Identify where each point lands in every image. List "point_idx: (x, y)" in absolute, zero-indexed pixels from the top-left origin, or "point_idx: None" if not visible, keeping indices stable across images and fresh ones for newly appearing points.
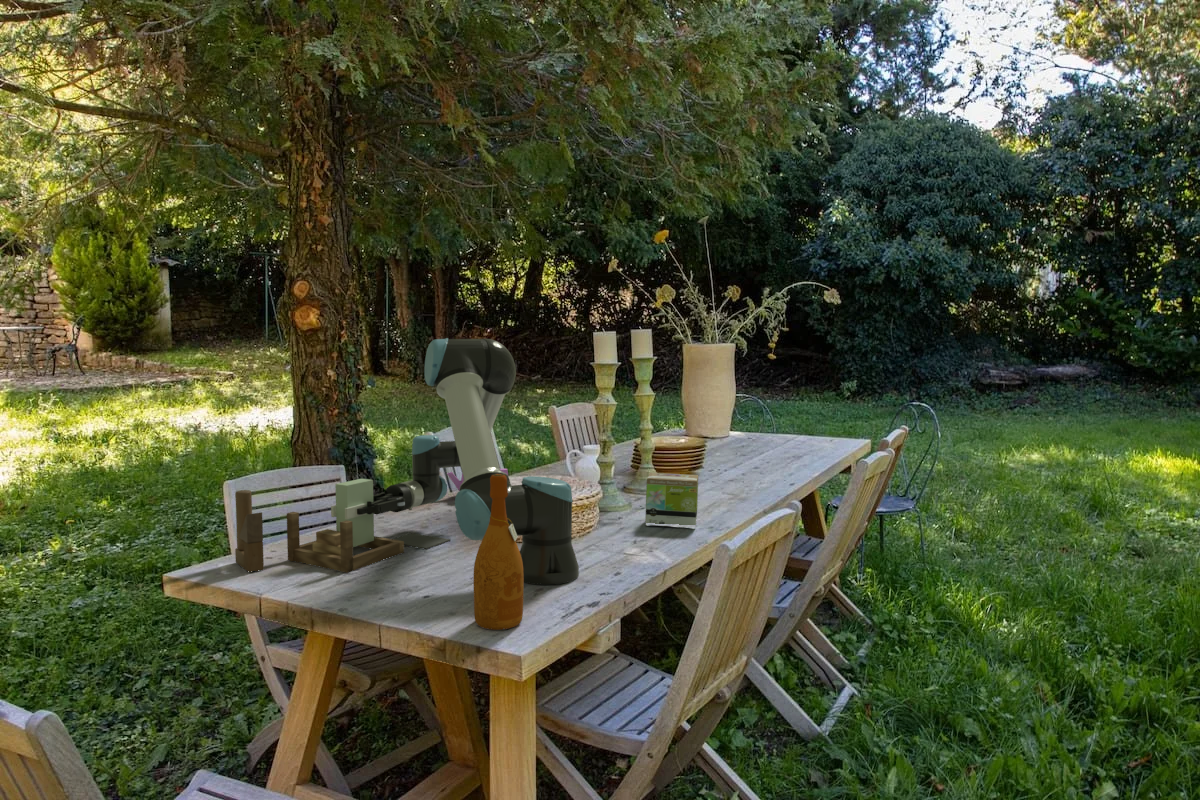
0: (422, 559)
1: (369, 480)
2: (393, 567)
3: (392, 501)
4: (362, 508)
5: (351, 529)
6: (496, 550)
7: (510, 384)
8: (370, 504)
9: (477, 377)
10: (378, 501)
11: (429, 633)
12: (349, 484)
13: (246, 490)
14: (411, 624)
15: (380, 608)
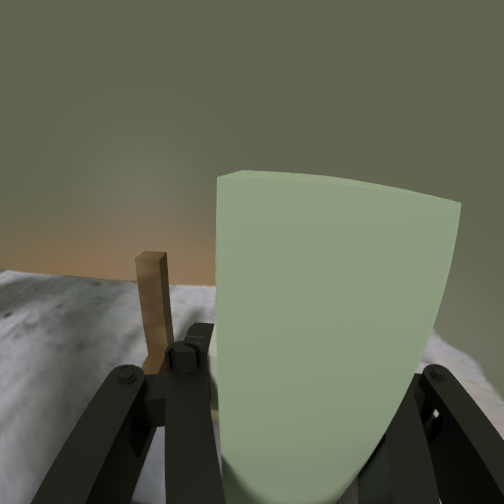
0: (13, 473)
1: (239, 175)
2: (68, 412)
3: (35, 497)
4: (192, 334)
5: (138, 279)
6: None
7: None
8: (171, 364)
9: None
10: (177, 473)
11: (16, 271)
12: (257, 171)
13: (422, 193)
14: (27, 277)
15: (56, 290)
